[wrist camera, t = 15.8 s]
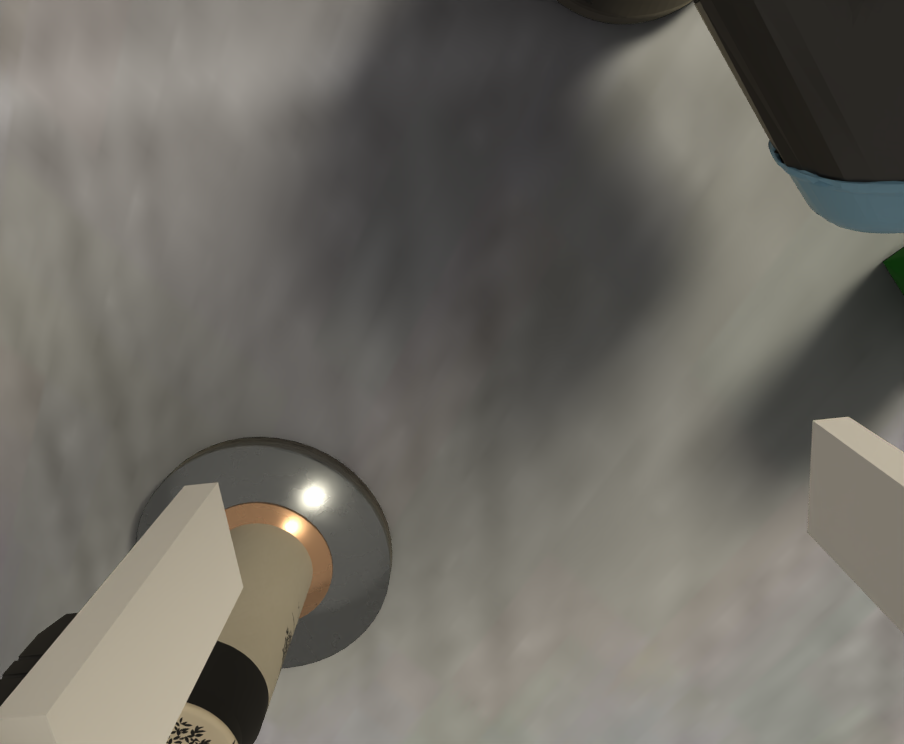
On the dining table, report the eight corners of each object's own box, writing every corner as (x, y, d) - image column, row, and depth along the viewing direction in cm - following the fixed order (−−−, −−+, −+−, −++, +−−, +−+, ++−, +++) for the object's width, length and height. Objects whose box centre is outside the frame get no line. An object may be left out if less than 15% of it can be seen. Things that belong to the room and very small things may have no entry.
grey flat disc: (372, 424, 52) (368, 435, 49) (407, 640, 58) (405, 659, 55) (118, 451, 52) (104, 463, 50) (179, 661, 58) (168, 681, 56)
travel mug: (192, 572, 53) (66, 770, 36) (248, 501, 51) (142, 675, 34) (276, 625, 55) (193, 840, 37) (333, 559, 53) (273, 753, 35)
